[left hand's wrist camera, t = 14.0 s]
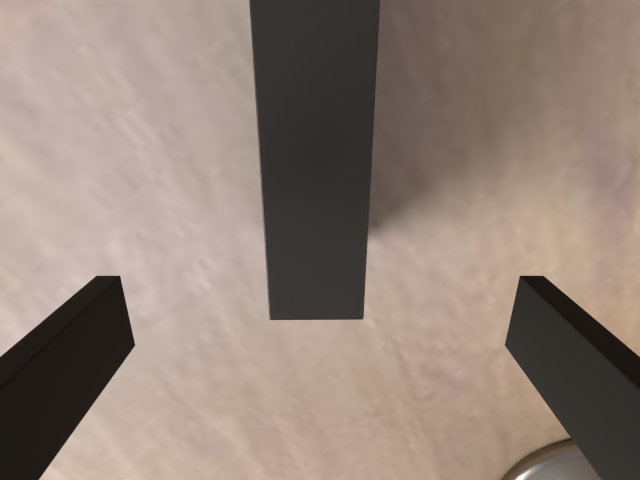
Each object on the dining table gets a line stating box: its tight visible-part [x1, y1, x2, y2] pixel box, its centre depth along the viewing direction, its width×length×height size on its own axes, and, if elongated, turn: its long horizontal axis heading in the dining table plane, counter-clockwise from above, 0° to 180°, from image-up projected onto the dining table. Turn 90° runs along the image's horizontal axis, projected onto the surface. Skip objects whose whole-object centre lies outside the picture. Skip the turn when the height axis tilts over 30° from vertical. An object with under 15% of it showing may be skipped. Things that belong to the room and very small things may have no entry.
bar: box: [249, 0, 380, 320], centre depth 17 cm, size 28×4×9 cm, turn 0°
